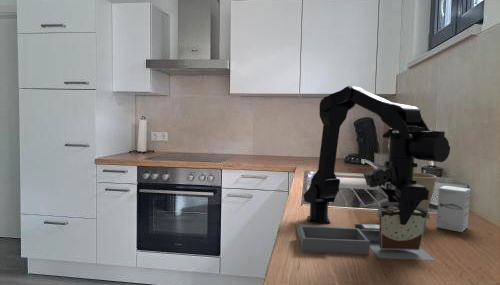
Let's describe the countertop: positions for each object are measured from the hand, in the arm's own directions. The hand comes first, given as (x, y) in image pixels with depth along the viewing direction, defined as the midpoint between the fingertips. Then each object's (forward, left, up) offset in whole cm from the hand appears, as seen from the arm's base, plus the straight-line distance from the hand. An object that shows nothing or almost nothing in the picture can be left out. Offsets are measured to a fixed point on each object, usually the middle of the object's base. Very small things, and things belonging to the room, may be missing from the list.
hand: (398, 220), depth 85 cm
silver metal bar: (-8, -1, -7) cm, 11 cm away
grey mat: (0, +1, -8) cm, 8 cm away
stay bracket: (-8, -1, -8) cm, 12 cm away
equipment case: (-7, -16, -8) cm, 19 cm away
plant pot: (-28, +14, -8) cm, 32 cm away
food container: (-1, 0, -6) cm, 6 cm away
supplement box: (-24, +26, -8) cm, 36 cm away
